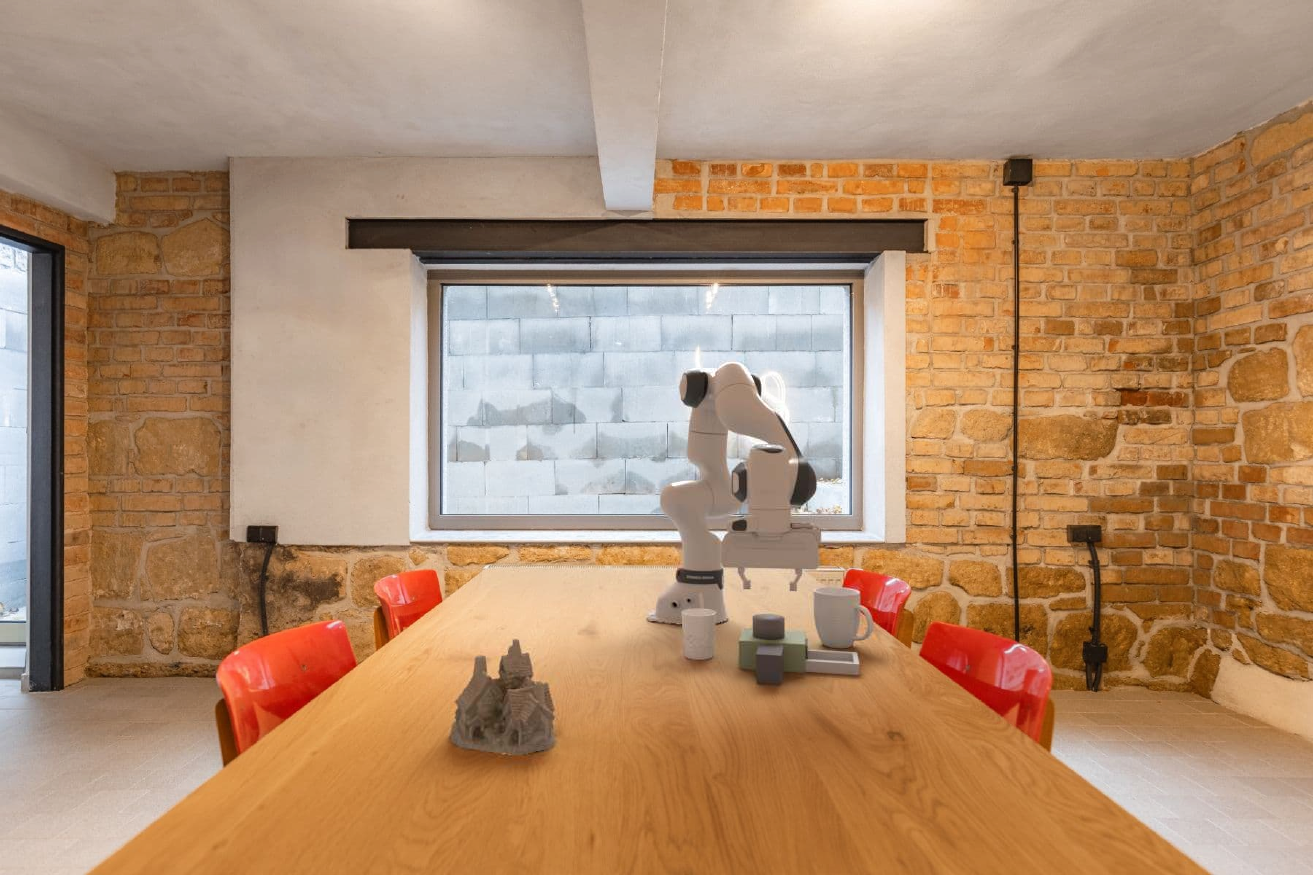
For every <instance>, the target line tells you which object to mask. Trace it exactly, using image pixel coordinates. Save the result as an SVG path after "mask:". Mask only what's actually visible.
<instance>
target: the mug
mask: <svg viewBox="0 0 1313 875" xmlns="http://www.w3.org/2000/svg"><path fill="white" fill-rule="evenodd" d="M861 612H862V613H863V615H864V616H865V618H866V621H867V622H866V623H867V629H866V632H865V634H863V635H861V636H858V632H859V629H860V628H859V627H860V623H861ZM813 620H814V625H815V629H816V632H817V636H818V638H819V640H820V642H821V643H822V644H823V645H824V646H825V647H827V646H828V648H833V649H847V648H850V647H852V646H853V644H854V642H855V641H856V642H857V641H859V642H860V641H864V640H867V639H869V638H870V636H871V635H872V633H873V630H874V621H873V617H872V614H871V612H870V611H869V609H868V608H867V607H865V606H864V605H861V591H859V590H858V589H853V588H848V587H841V586H822V587H817V588H814V589H813Z"/></svg>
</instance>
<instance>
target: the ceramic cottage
mask: <svg viewBox="0 0 1313 875" xmlns="http://www.w3.org/2000/svg"><path fill="white" fill-rule="evenodd" d="M530 657H531V656H530V654H529V652H525V653H522V648H521V644H520V640H519V639H517V638H513V639H512V645H509V646H508V650H507V654H506V655H505V654H504V655H501V659H500V661H499V666H498V667H499V669H498V672H497V674H498V675H499V678H494V679H493V678H492V677H491V676H490V675H489V674H488V664H487V656H485V655H483V654H481V655H476V656H475V658H474V666H473V671H472V672H473V673H472V677H471V678H470V681H469V682H468V684H467V685H466V687H465V688H463V690H462V692H461V694H460V695H458V697H457V698H456V699H455V700H454V703H455V704H456V706H457V708H456V710H455V712H454V714H455V716H454V719H455V721H453V723H452V725H451V728H450V734H449V740H450V739H451V740H450V742H451V741H452V742H453V743H454V744H453V743H452V742H451V743H452V744H453V745H454V746H457V747H458V748H460V749H465V750H466V749H467V750H472V751H477V750H480V751H479V752H485V751H486V753H491V752H493V754H497V753H506V754H510V755H520V756H525V755H526V754H527V753H531V754H534V753H535V752H536V751H538V752H540V751H541V750H544V751H548V750H550V749H552V748H554V747H555V745H556V742H557V740H556V734H555V728H554V722H553V721H554V720H555V714H554V712H555V706H554V703H553V702H554V701H553V697H552V695H551V691H550V687H549V683H548V682H547V681H546V682H543V681H540V680H539V681H534V680H533V679H532V678H533V676H534V672H533V664H532V662H531V661H532V660H531V658H530ZM551 747H552V748H551ZM547 749H548V750H547ZM541 752H542V751H541ZM524 754H525V755H524ZM510 755H509V756H510Z"/></svg>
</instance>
